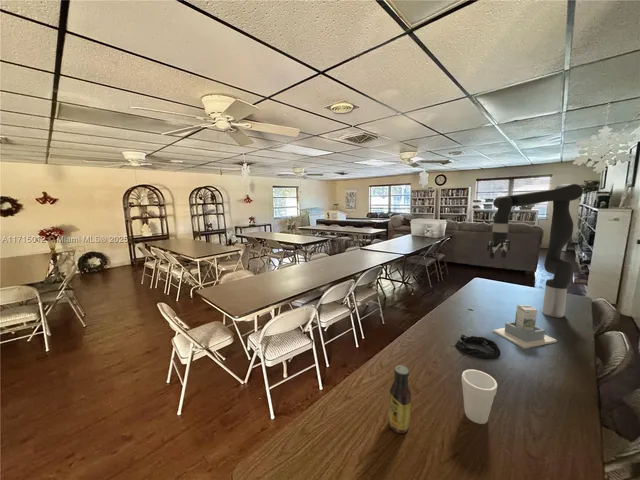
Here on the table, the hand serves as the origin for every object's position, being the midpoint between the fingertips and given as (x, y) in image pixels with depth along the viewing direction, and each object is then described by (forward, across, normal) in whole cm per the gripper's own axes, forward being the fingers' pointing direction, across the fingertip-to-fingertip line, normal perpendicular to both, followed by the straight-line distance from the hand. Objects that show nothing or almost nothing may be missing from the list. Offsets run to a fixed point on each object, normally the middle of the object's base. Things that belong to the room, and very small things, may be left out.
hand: (497, 258), depth 152 cm
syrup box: (+32, -12, -28) cm, 44 cm away
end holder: (+33, -12, -28) cm, 45 cm away
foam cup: (+33, -73, -60) cm, 100 cm away
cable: (+34, -43, -31) cm, 63 cm away
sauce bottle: (+33, -99, -57) cm, 119 cm away
